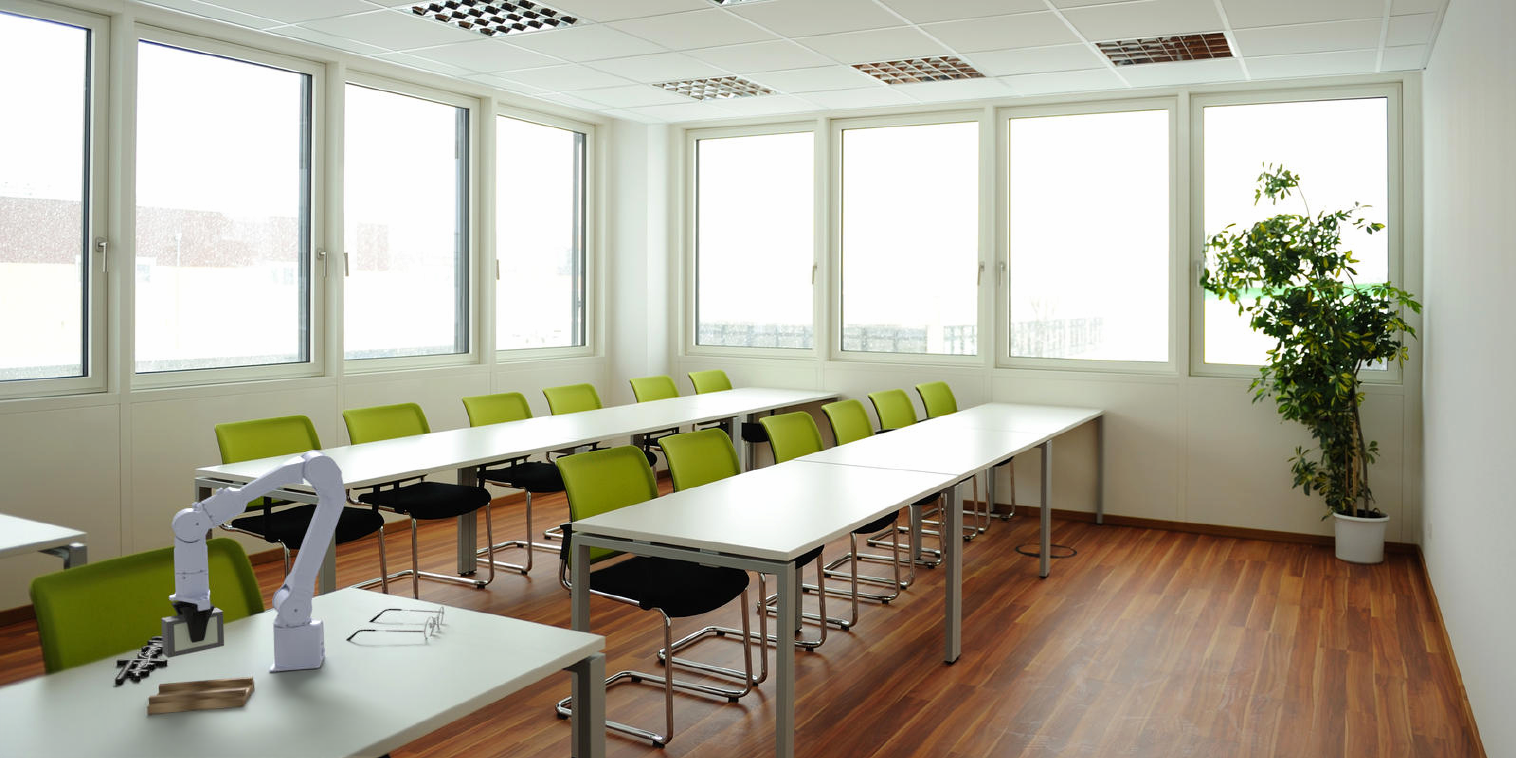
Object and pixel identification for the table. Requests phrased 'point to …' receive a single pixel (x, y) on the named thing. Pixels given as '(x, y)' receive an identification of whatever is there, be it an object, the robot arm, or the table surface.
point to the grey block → (179, 638)
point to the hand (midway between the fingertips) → (194, 638)
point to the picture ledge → (201, 695)
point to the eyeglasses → (407, 630)
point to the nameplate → (142, 662)
